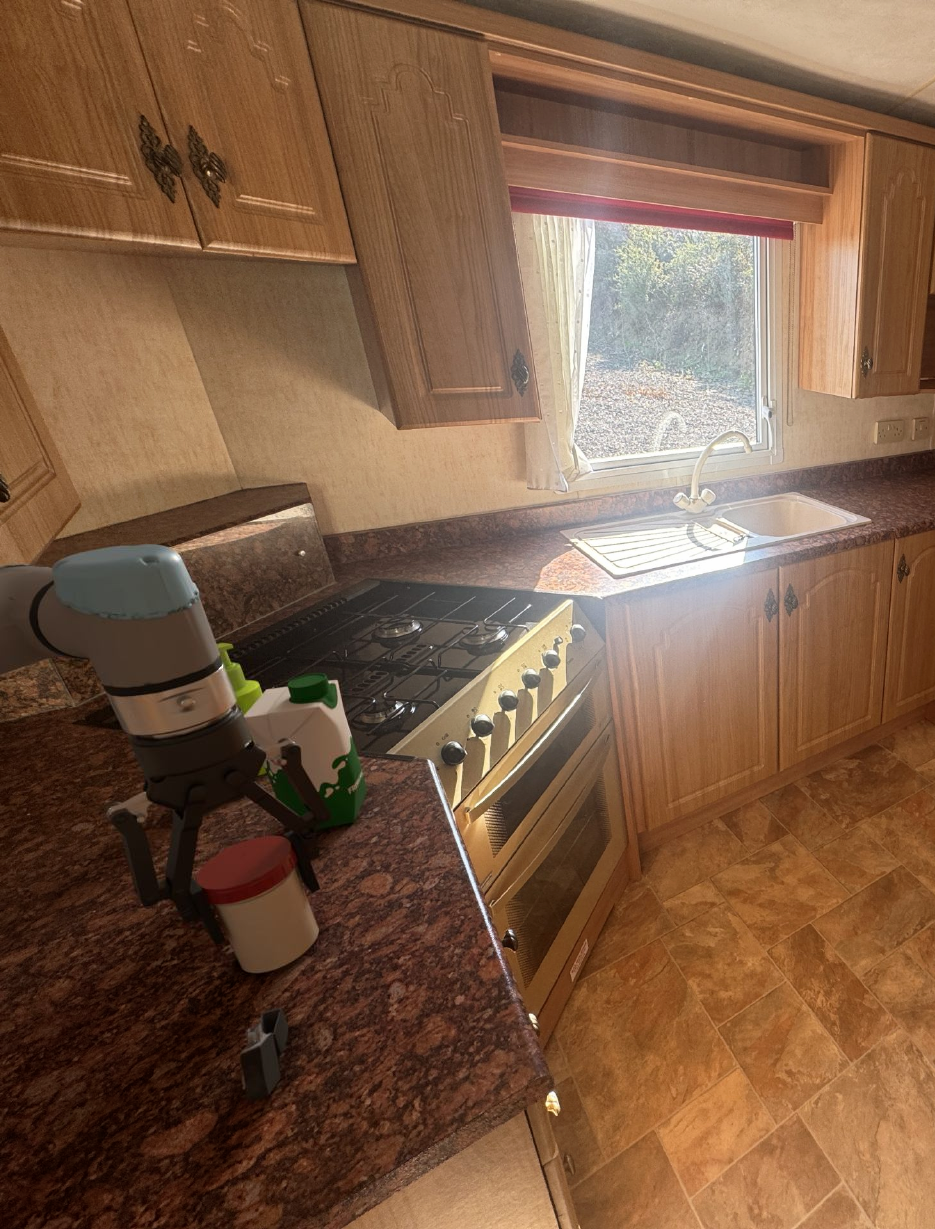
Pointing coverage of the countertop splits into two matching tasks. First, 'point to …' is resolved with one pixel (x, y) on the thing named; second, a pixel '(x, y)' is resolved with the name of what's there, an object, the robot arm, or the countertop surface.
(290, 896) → the jam jar
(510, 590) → the countertop surface
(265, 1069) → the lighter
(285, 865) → the jam lid
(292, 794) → the milk carton
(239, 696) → the soap dispenser
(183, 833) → the robot arm
